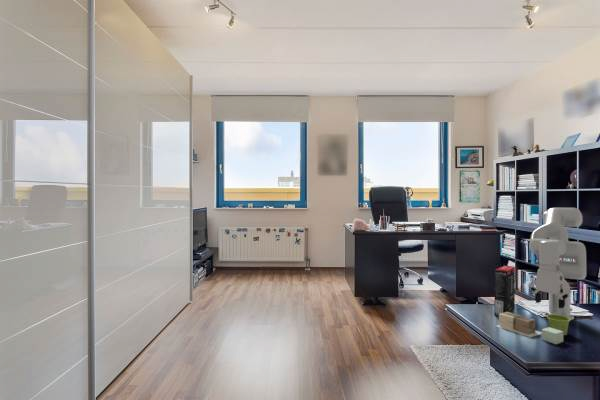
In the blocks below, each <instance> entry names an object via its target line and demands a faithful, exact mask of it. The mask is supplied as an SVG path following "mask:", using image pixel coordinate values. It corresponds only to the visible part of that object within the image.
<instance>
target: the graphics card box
mask: <svg viewBox="0 0 600 400" xmlns="http://www.w3.org/2000/svg"><path fill="white" fill-rule="evenodd" d="M515 297H516V266H514V265H513V266H512V265H503V266H500V267H498V268H496V269H495V270H494V309H493V310H494V311H493V314H494V315H493V316H494V317H498V318H499V314H500V313H504V312H510V313H514V314H515V307H516V305H515V303H516V302H515V301H516V300H515V299H516V298H515Z"/></svg>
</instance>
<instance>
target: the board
mask: <svg viewBox="0 0 600 400" xmlns="http://www.w3.org/2000/svg"><path fill="white" fill-rule="evenodd" d="M496 327H497V328H501V329H504V330H507V331H510V332H514V333H517V334H519V335H523V336H526V337H529V338H533V337H535V336H539V335H542V331H538V330H536V329H535V332H534V333H531V334H525V333H522V332H519V331H516V330H515V329H514V330H512V329H509V328H505V327H502V326H499V324H498V325H496Z"/></svg>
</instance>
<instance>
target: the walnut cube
mask: <svg viewBox="0 0 600 400" xmlns="http://www.w3.org/2000/svg"><path fill="white" fill-rule="evenodd" d="M515 330H516V331H519V332H522V333H525V334H531V333H534V332H535V330H536V319H533V318H530V317H526V316H522V315H521V317H518V318H515Z"/></svg>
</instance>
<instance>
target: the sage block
mask: <svg viewBox="0 0 600 400" xmlns="http://www.w3.org/2000/svg"><path fill="white" fill-rule="evenodd" d="M541 332H542V334H541V340H542V341H545V342H548V343H552V344H553V345H558V344H561V343H564V335H563V331H561V330H557V329H554V328H550V326H548V327H545V328H542V329H541Z"/></svg>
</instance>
